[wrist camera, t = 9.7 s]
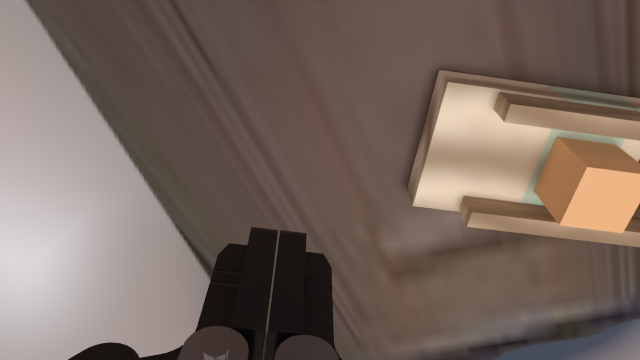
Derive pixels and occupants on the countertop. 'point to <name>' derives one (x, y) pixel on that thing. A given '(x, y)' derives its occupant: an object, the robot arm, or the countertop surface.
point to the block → (589, 185)
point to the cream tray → (513, 150)
